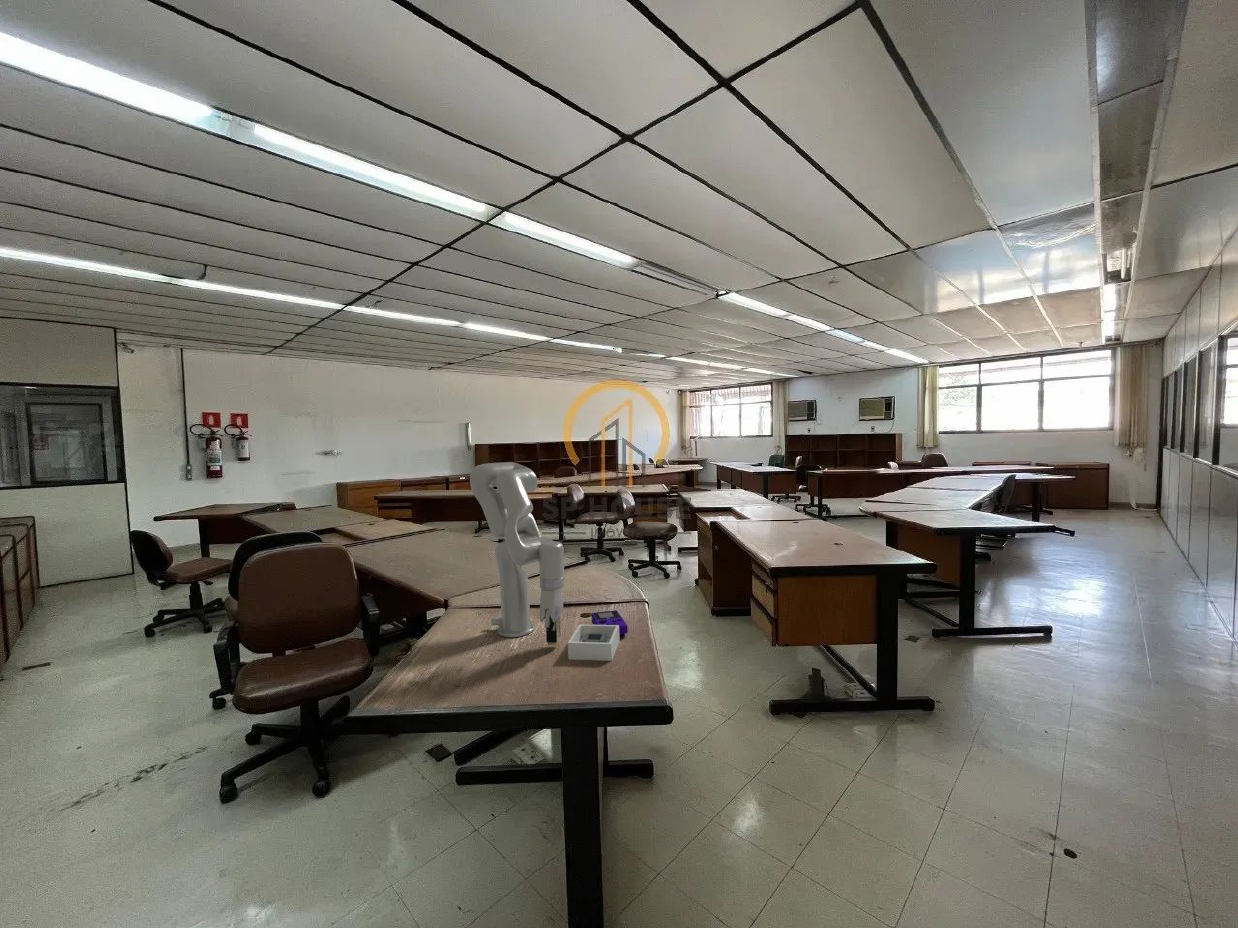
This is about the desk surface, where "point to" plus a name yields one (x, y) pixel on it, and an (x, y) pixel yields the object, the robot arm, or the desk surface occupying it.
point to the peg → (557, 632)
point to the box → (594, 642)
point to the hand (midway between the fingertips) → (553, 638)
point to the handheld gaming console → (610, 620)
